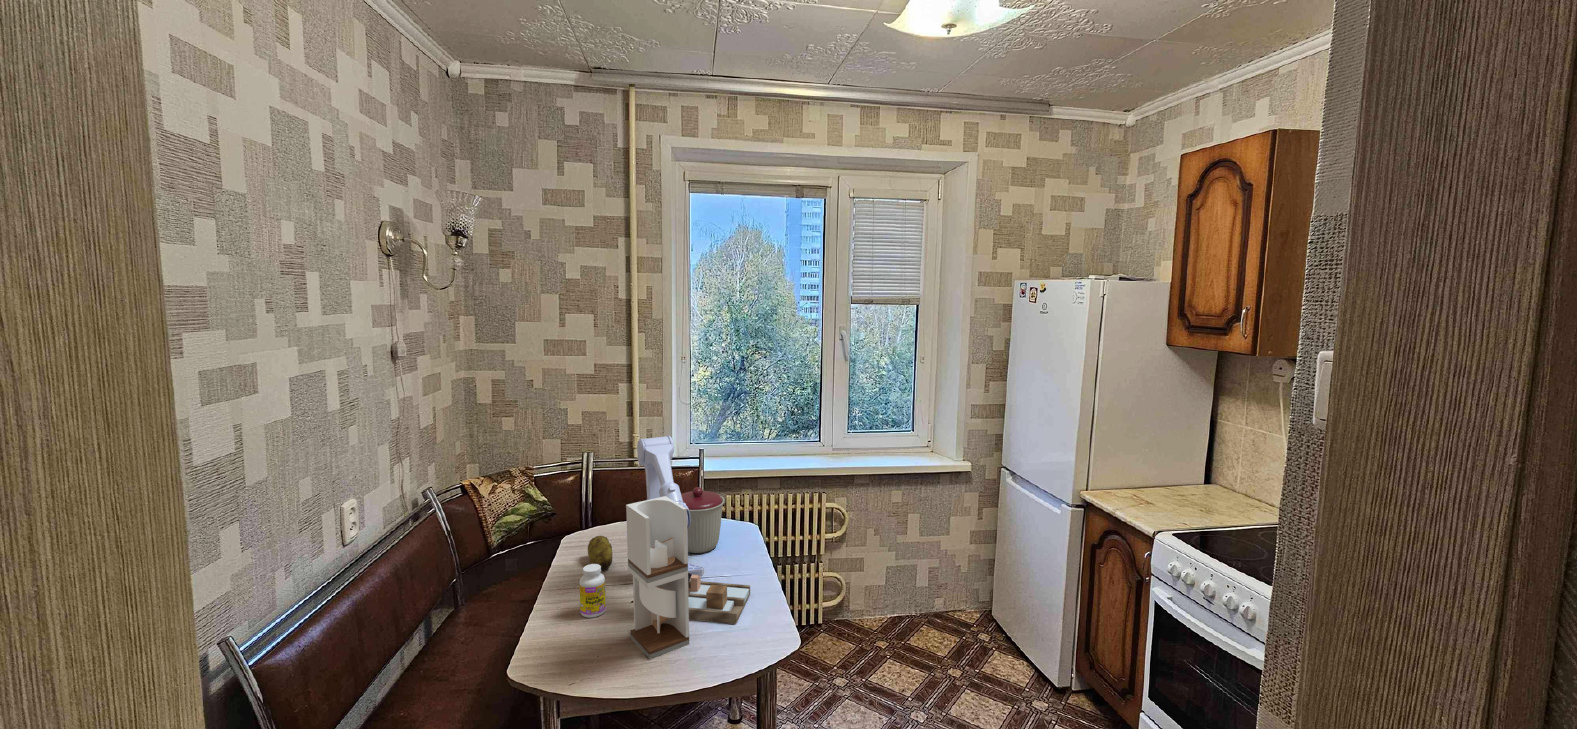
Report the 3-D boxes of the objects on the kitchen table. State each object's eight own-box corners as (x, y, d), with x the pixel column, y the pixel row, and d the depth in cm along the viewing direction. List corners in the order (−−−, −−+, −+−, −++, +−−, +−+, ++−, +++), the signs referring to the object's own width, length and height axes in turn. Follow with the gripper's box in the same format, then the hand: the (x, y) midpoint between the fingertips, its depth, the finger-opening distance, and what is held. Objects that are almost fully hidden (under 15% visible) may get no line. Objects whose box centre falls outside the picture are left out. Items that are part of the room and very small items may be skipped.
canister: (735, 544, 213) (735, 485, 211) (701, 563, 198) (700, 500, 195) (695, 533, 223) (694, 476, 220) (660, 550, 208) (659, 490, 205)
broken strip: (689, 598, 174) (689, 580, 173) (695, 589, 179) (695, 571, 178) (744, 603, 171) (744, 584, 170) (749, 593, 176) (748, 575, 176)
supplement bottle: (582, 621, 163) (580, 575, 162) (578, 609, 169) (576, 565, 168) (608, 615, 167) (606, 570, 165) (603, 604, 172) (601, 560, 171)
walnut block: (706, 608, 165) (706, 592, 165) (711, 600, 170) (711, 584, 169) (722, 609, 165) (722, 593, 164) (727, 601, 169) (726, 585, 168)
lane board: (657, 616, 166) (656, 606, 166) (677, 588, 182) (677, 579, 181) (736, 624, 162) (736, 614, 162) (750, 594, 178) (750, 585, 178)
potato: (584, 574, 190) (583, 549, 189) (589, 556, 203) (588, 533, 202) (611, 572, 192) (611, 547, 191) (615, 554, 204) (614, 531, 203)
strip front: (671, 610, 167) (670, 592, 166) (678, 600, 172) (678, 582, 171) (728, 615, 164) (728, 597, 163) (733, 605, 169) (733, 587, 169)
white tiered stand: (630, 638, 156) (626, 504, 151) (668, 624, 162) (665, 496, 158) (649, 659, 147) (645, 518, 142) (689, 644, 153) (686, 508, 149)
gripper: (646, 555, 164) (647, 603, 166) (698, 559, 162) (699, 607, 164) (656, 544, 171) (657, 590, 173) (706, 548, 169) (706, 595, 171)
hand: (678, 598), depth 169 cm, fingers closed on strip front, 2 cm apart
